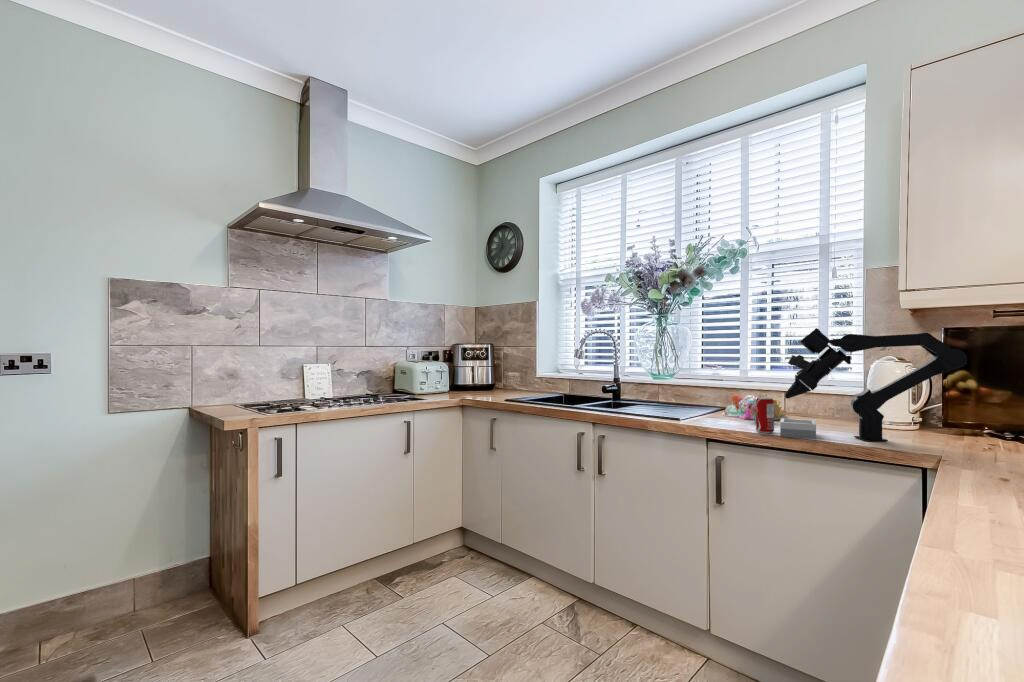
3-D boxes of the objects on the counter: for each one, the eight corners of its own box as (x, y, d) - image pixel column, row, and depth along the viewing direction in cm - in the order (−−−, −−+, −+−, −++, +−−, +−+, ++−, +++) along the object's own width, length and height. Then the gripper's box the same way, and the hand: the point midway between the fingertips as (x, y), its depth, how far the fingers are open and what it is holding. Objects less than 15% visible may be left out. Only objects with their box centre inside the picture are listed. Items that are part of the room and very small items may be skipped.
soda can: (755, 430, 174) (754, 395, 174) (772, 431, 172) (772, 396, 172) (756, 432, 168) (756, 397, 169) (774, 433, 166) (774, 397, 167)
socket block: (814, 433, 166) (814, 420, 166) (816, 438, 157) (816, 424, 158) (781, 431, 171) (780, 418, 171) (780, 435, 162) (780, 422, 162)
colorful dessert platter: (789, 415, 210) (789, 394, 211) (786, 423, 190) (786, 399, 190) (725, 411, 224) (725, 391, 224) (716, 418, 204) (716, 395, 204)
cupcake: (780, 423, 187) (780, 392, 187) (763, 425, 184) (763, 392, 184) (761, 420, 195) (761, 390, 195) (744, 422, 192) (744, 390, 192)
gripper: (803, 346, 173) (768, 377, 178) (804, 346, 156) (765, 380, 162) (830, 369, 169) (793, 400, 174) (834, 372, 152) (793, 406, 158)
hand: (786, 396), depth 167 cm, fingers open, 9 cm apart
